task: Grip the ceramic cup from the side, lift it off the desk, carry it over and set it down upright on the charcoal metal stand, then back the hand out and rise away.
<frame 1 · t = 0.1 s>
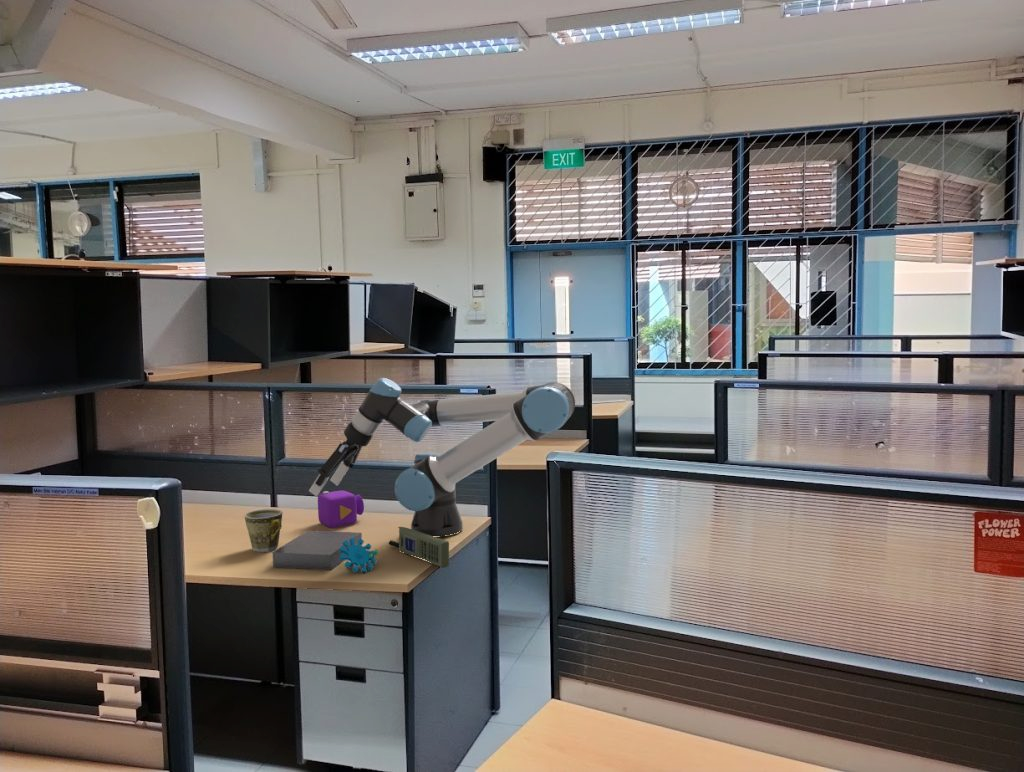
hand: (323, 488, 227), 15 cm above the table, tool tilted 35°, fingers open, 13 cm apart
gear: (360, 570, 202), on the table
toy camera: (342, 523, 247), on the table
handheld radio: (417, 557, 212), on the table
ceramic cup: (268, 550, 221), on the table
stand: (319, 556, 213), on the table
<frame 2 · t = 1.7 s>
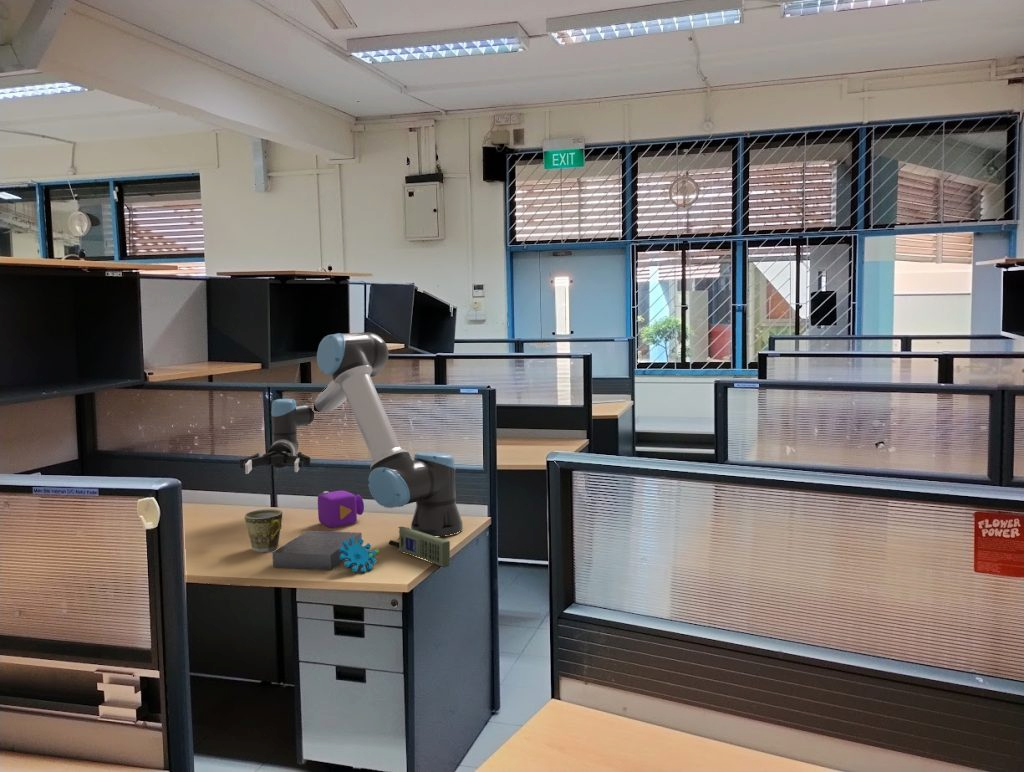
hand: (271, 468, 229), 21 cm above the table, tool horizontal, fingers open, 13 cm apart
nothing on the table moved.
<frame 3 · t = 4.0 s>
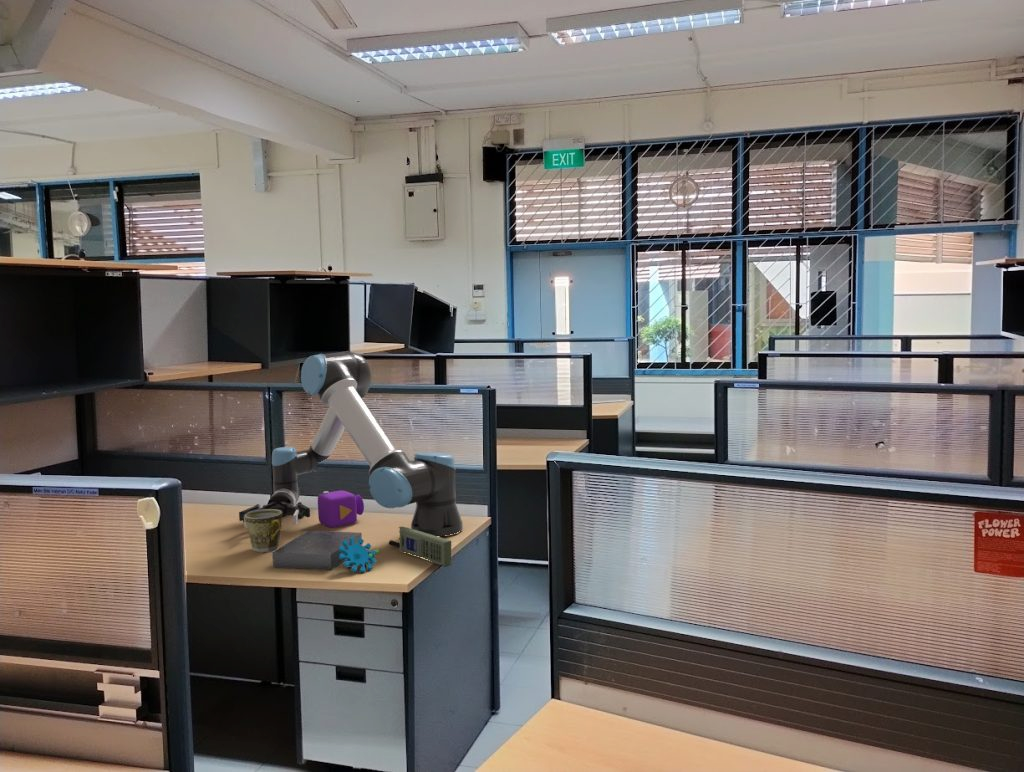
hand: (270, 521, 228), 6 cm above the table, tool horizontal, fingers open, 13 cm apart
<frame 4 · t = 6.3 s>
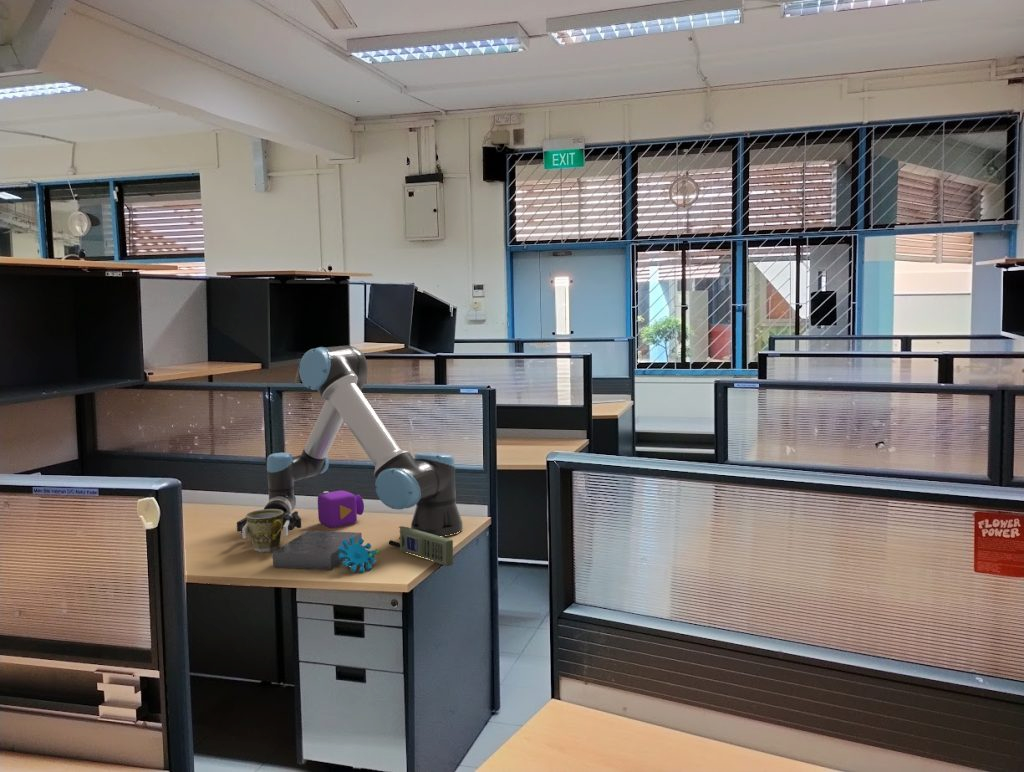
hand: (264, 532, 216), 6 cm above the table, tool horizontal, fingers closed on ceramic cup, 10 cm apart
ceramic cup: (270, 550, 221), on the table, touching gripper
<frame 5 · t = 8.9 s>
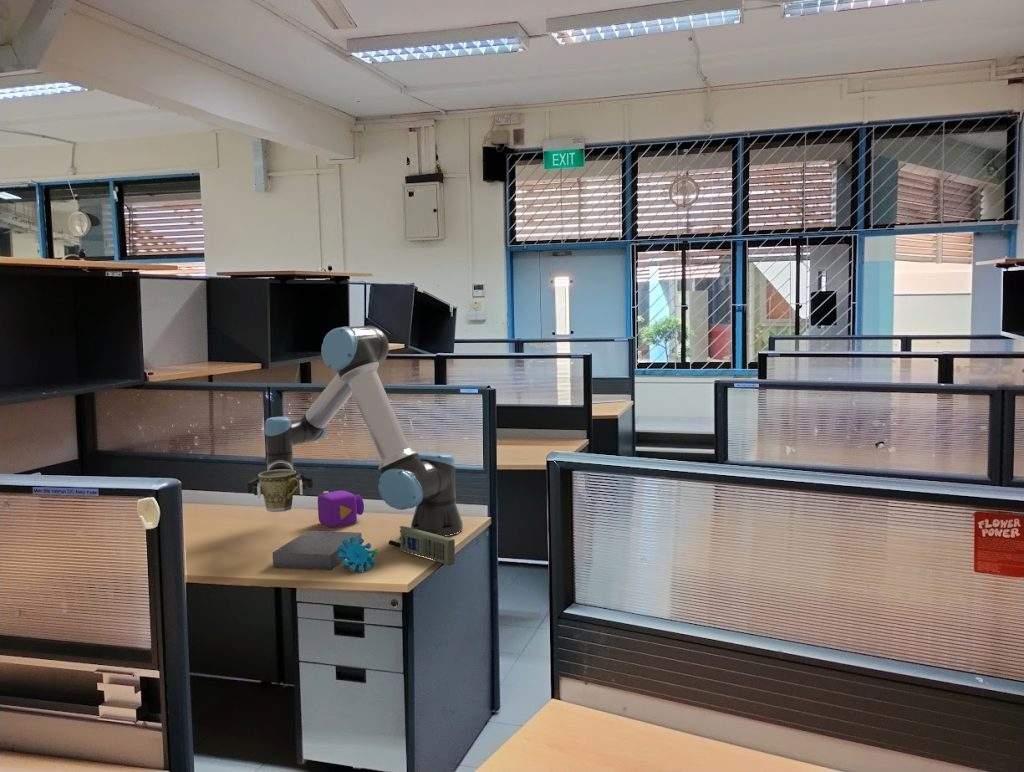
hand: (280, 491, 212), 18 cm above the table, tool horizontal, fingers closed on ceramic cup, 10 cm apart
ceramic cup: (283, 510, 217), point 12 cm above the table, touching gripper
when the fingers open (11 cm above the table, at t = 11.4 s): ceramic cup drops 1 cm, resting on stand.
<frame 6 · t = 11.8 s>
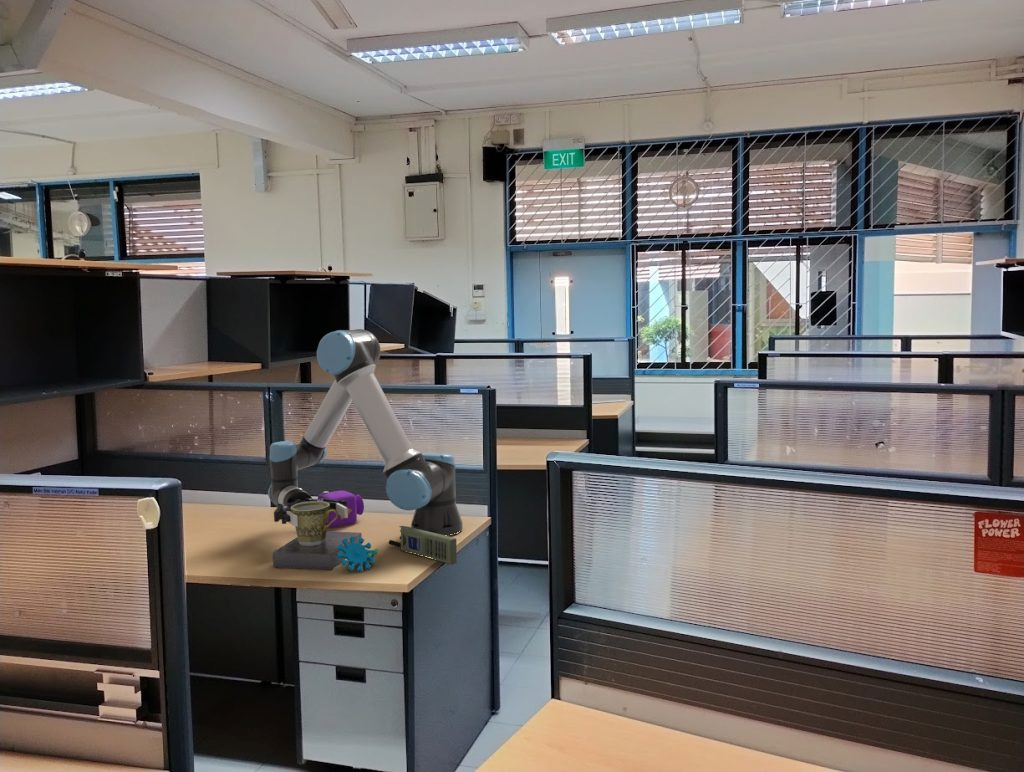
hand: (321, 517, 209), 11 cm above the table, tool horizontal, fingers open, 13 cm apart
ceramic cup: (317, 543, 212), point 4 cm above the table, touching stand
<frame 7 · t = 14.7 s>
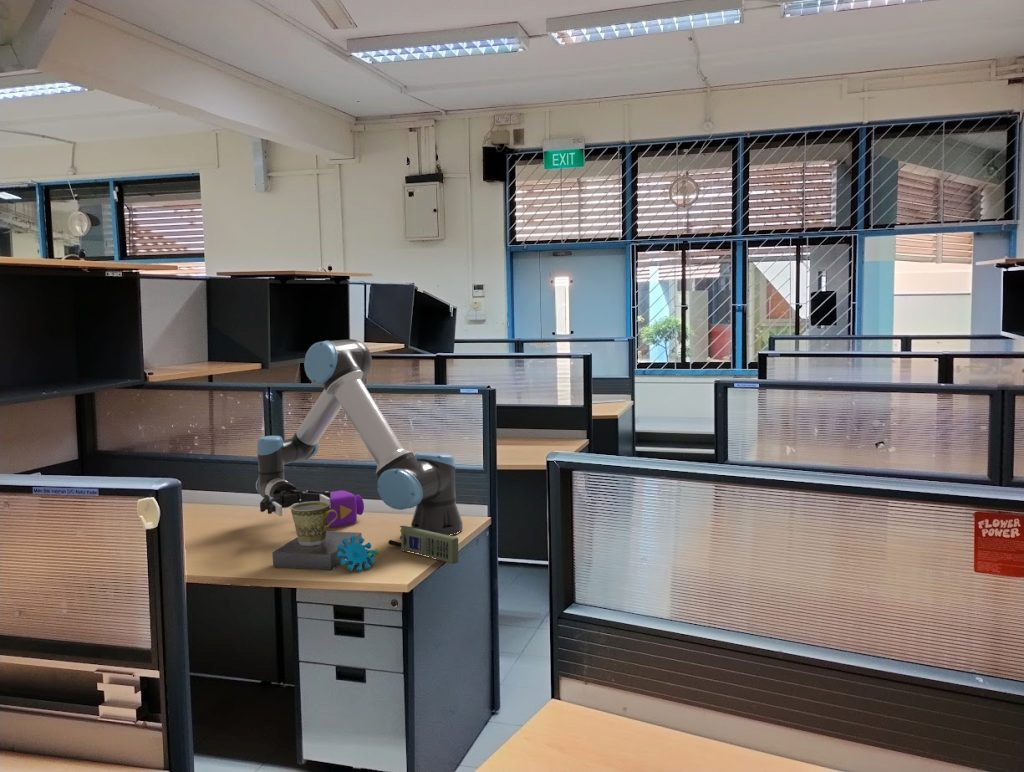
hand: (305, 507, 220), 12 cm above the table, tool horizontal, fingers open, 13 cm apart
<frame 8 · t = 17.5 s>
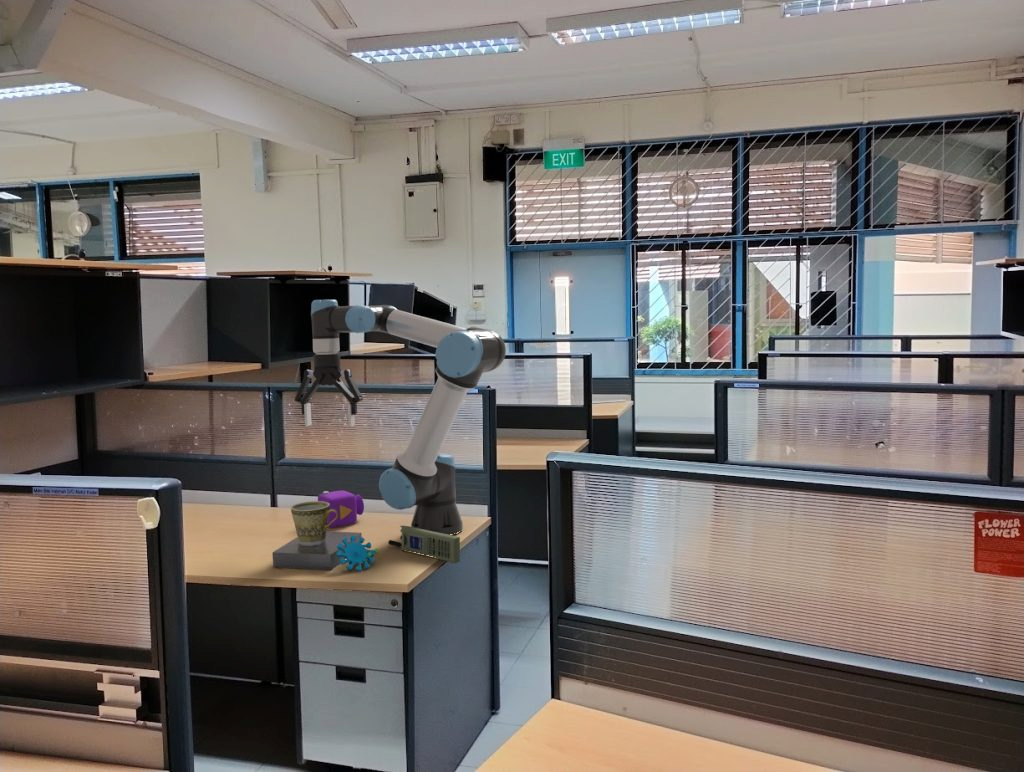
hand: (329, 425, 234), 32 cm above the table, tool pointing down, fingers open, 13 cm apart
at the end: ceramic cup inside the target area on the stand (0.6 cm from its centre), point 3.8 cm above the stand's base; ceramic cup tilted 0°; the gripper is holding nothing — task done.
